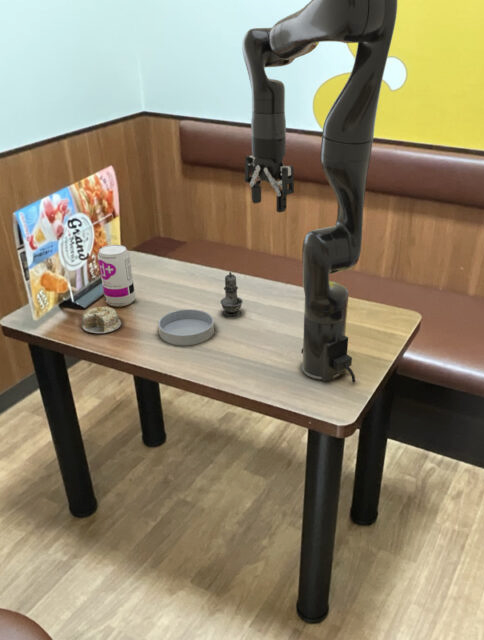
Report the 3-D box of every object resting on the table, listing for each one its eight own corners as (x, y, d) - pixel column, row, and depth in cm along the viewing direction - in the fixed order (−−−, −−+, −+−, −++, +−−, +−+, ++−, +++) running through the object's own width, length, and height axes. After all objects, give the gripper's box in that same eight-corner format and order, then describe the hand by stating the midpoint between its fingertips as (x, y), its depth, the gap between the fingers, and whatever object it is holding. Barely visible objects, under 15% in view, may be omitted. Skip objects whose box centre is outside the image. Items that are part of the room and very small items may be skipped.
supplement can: (119, 310, 163) (111, 258, 155) (99, 302, 167) (90, 250, 159) (141, 299, 169) (135, 248, 160) (122, 291, 173) (114, 241, 164)
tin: (224, 334, 153) (224, 324, 151) (176, 351, 146) (175, 341, 144) (196, 313, 162) (195, 304, 160) (149, 328, 155) (148, 319, 153)
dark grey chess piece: (218, 310, 163) (216, 268, 157) (239, 307, 165) (238, 265, 158) (223, 320, 159) (221, 277, 152) (245, 316, 160) (244, 274, 154)
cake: (91, 316, 161) (88, 297, 159) (127, 320, 160) (125, 301, 158) (75, 332, 153) (72, 312, 150) (112, 335, 152) (110, 316, 149)
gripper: (234, 130, 135) (237, 203, 144) (277, 141, 126) (277, 218, 135) (260, 125, 139) (260, 196, 148) (303, 136, 130) (301, 211, 139)
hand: (268, 207), depth 141 cm, fingers open, 8 cm apart
